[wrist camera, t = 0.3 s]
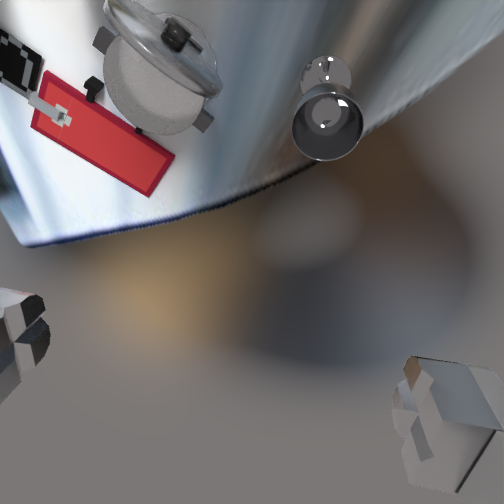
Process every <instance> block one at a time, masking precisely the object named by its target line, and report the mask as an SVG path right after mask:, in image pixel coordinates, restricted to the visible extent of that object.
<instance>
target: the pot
mask: <svg viewBox="0 0 504 504" xmlns="http://www.w3.org/2000/svg"><path fill="white" fill-rule="evenodd" d="M155 15H156V16H157V17H159V18H160V19H161V20H163V21H164V22H165V23H166V24H167V23H168V22H169V20H170V18H171V17H174V18H176V19H177V20H179V21H180V22H181V23H182V24H183V25H185V26H186V27H187V28H188V29H189V30H190V32H191V33H192V36H191V37H190V39H189V41H188V42H189V43H190V44H191V45H192V46H193V47H194V48H195V49H196V50H197V51H198V52H199V53H200V54H201V55H202V56H203V57H204V58H205V60H206V61H207V62H208V63H209V64H210V65H211V67H212V68H213V69H214V71H215V72H216V73H217V67H216V60H215V56H214V53H213V50H212V48H211V46H210V44H209V42H208V40H207V39H206V37H205V36H204V35H203V33H202V32H201V31H200V30H199V29H198V28H197V27H196V26H195V25H194V24H192V23H191V22H190V21H188V20H186V19H185V18H182V17H180V16H177V15H174V14H168V13H160V14H155ZM92 45H93V46H94V47H95V48H97V49H98V50H99V51H100V52H102V53H103V54H104V55H105V58H104V65H103V73H104V80H105V85H106V88H107V91H108V93H109V96H110V98H111V99H112V101H113V103H114V104H115V106H116V107H117V109H118V110H119V111H120V112H121V114H122V115H123V116H124V117H125V118H126V119H128V120H129V121H130V122H131V123H133V124H134V125H136V126H137V127H139V128H141V129H143V130H145V131H147V132H150V133H154V134H159V135H171V134H176V133H179V132H182V131H184V130H185V129H187V128H188V127H189V126H191V125H194V126H195V127H196V128H197V129H199V130H200V131H201V132H202V133H204V131H205V130H206V129H207V128H208V126H209V125H210V124H211V122H212V121H213V119H214V117H213V116H211V115H210V114H209V113H208V112H207V111H205V110H204V109H203V107H204V105H205V103H206V101H207V100H208V98H205V97H202V96H200V95H197V94H195V93H193V92H191V91H189V90H187V89H186V88H184V87H182V86H181V85H179V84H178V83H176V82H174V81H173V80H171V79H170V78H169V77H167V76H166V75H164V74H163V73H162V72H160V71H159V70H158V69H156V68H155V67H154V66H153V65H151V64H150V63H149V62H148V61H147V60H145V59H144V58H143V57H142V56H141V55H140V54H139V53H138V52H136V51H135V50H134V49H133V48H132V47H131V46H130V45H129V44H128V43H127V42H126V41H125V40H124V39H123V38H122V37H121V36H120V35H119V36H118V37H116V36H114V35H113V34H112V33H111V32H110V31H108V30H107V29H106V28H105V27H104V26H102V27H100V28H99V30H98V32H97V35H96V37H95V39H94V42H93V44H92Z"/></svg>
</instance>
